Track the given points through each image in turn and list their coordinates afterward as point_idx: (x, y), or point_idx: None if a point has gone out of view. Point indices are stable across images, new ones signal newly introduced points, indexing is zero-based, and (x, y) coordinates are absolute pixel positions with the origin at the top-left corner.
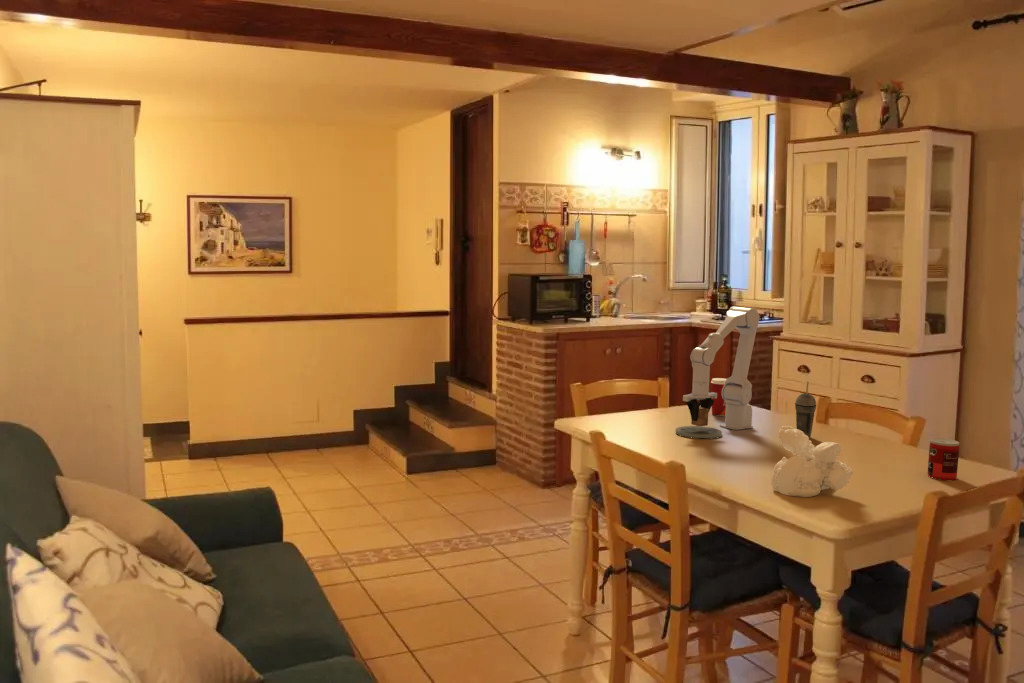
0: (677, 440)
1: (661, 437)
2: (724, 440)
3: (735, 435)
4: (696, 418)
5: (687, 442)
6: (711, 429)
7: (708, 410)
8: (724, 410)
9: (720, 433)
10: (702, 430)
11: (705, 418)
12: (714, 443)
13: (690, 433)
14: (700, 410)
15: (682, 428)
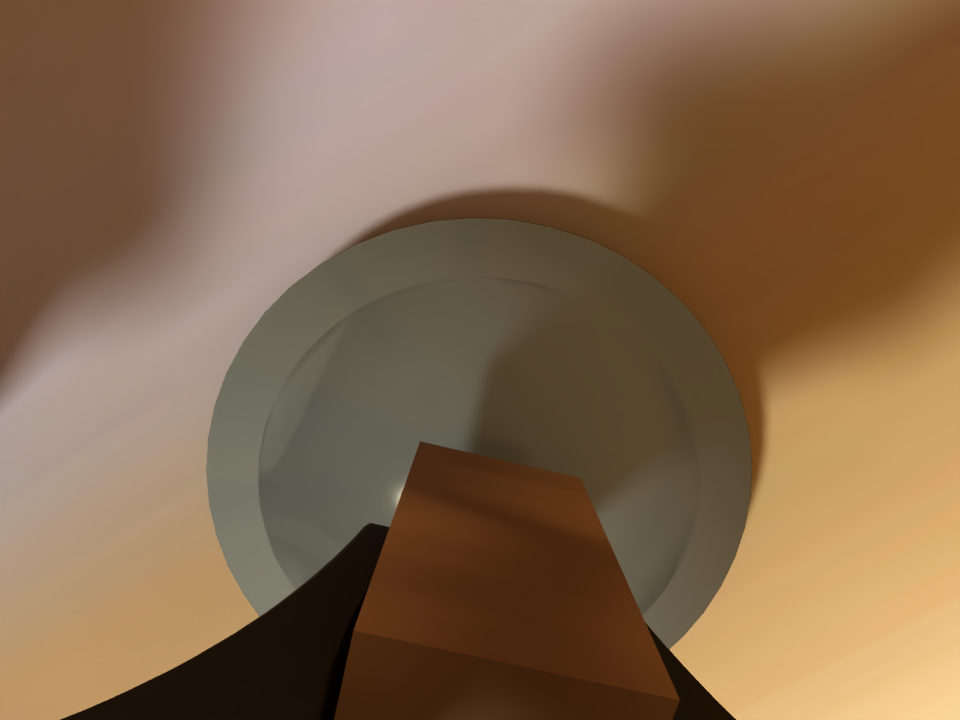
0: (928, 460)
1: (902, 630)
2: (543, 85)
3: (183, 148)
4: None
5: (953, 336)
6: (297, 435)
7: (369, 593)
8: None
9: (406, 231)
10: None
11: (467, 507)
12: (791, 79)
13: (692, 478)
14: (660, 674)
15: None
